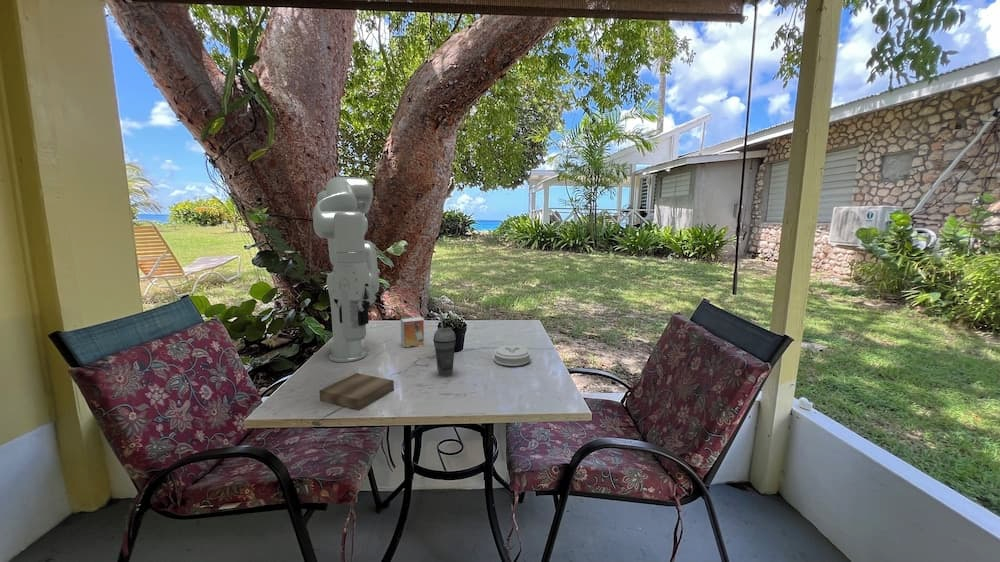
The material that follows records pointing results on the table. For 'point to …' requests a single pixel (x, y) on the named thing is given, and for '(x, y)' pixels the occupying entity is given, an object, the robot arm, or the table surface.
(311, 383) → the table surface
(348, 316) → the energy drink can
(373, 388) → the walnut base
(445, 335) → the beverage cup
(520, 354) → the lid
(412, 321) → the small box
